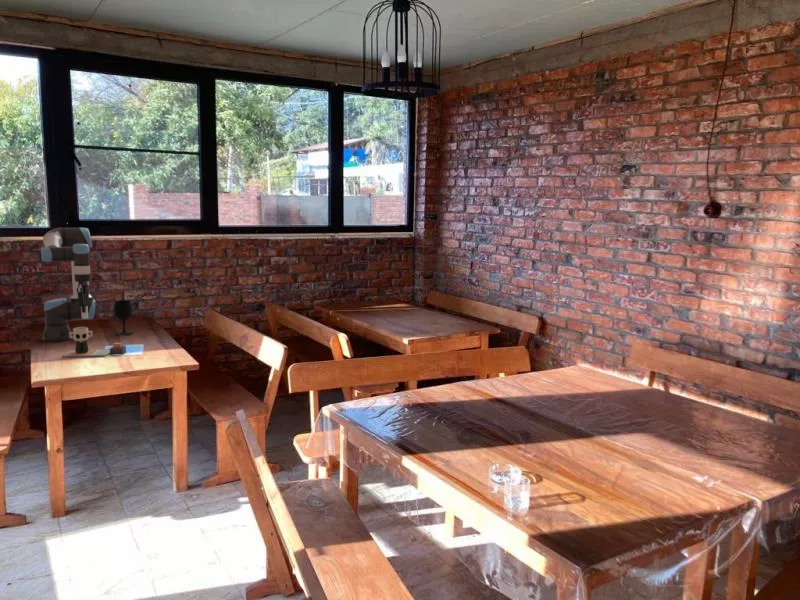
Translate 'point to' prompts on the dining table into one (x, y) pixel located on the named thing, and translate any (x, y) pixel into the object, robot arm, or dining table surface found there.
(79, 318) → the robot arm
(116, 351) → the button housing
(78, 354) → the picture board
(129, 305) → the wine glass
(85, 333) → the character mug
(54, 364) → the dining table surface
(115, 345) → the button cap
